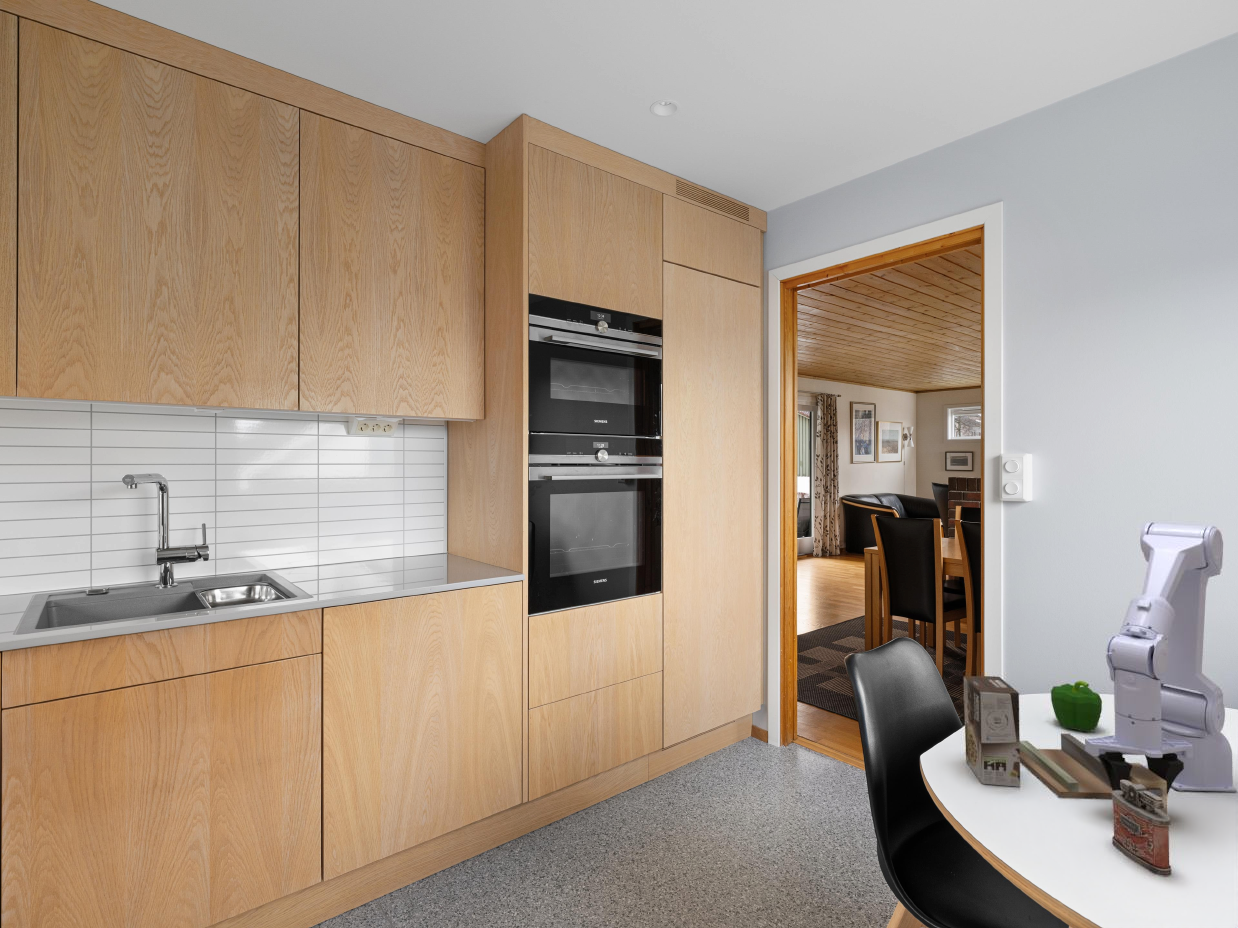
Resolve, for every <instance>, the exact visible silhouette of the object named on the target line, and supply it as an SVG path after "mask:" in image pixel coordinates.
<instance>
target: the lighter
mask: <svg viewBox="0 0 1238 928" xmlns="http://www.w3.org/2000/svg"><path fill="white" fill-rule="evenodd" d="M1120 787H1121V791H1120V790H1115V791H1112V799H1111V800H1112V807H1113V836H1112V838H1111V841H1112V842H1111V843H1112V845H1113V847H1115V848H1116V849H1117V850H1118V851H1119V852H1120V853H1122V855H1124V856H1126V857H1127V859H1129V860H1131V861H1132V862H1134V863H1135V864H1137V865H1138V866H1140V867H1141V868H1143V869H1145V870H1147V871H1149V872H1150V873H1152V874H1154V875H1156V876H1157V875H1158V876H1160V877H1161V876H1162V877H1170V876H1172V865H1171V864H1170V834H1169V833H1170V831H1169V829H1170V826H1171V817H1170V816H1169V815H1168V814H1167V815H1166V814H1165V813H1164V812H1162V811H1161V810H1160V809H1164V801H1163V800H1162V799H1161V798H1159V797H1158V796H1156V795H1154V794H1152V793H1151V792H1149V791H1147V790H1146V788H1145V787H1144V786H1143V785H1141V784H1137V785H1135V784H1133V783H1131V782H1130V781H1128V780H1120Z"/></svg>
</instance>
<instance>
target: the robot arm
mask: <svg viewBox="0 0 1238 928" xmlns="http://www.w3.org/2000/svg"><path fill="white" fill-rule="evenodd" d="M1140 531H1141V532H1140V540H1139V541H1140V550H1141V551H1142V553H1143V556H1144V560H1145V561H1146V562H1147V563H1148V564H1147V567H1146V572H1145V578H1144V582H1143V587H1142V591H1141V592H1142V593H1141V595H1138V596H1136V597H1133V598H1132V599H1131V600H1130V602H1129V605H1128V608H1127V609H1126V613H1125V616H1124V619H1123V621H1122V625H1121V627H1120V630H1119V633H1118V634H1117V636H1115V635H1113V636H1110V638H1109V639H1108V642H1107V646H1106V652H1105V653H1106V654H1105V657H1106V658H1105V659H1106V663H1107V666H1108V668H1109V669H1108V670H1109V678H1110V680H1111V681H1112V682H1113V689H1114V690H1113V696H1114V697H1113V698H1114V699H1113V701H1114V702H1113V703H1114V734H1112V735H1106V736H1101V737H1092V738H1084V744H1085V751H1087V752H1088V753H1089V754H1091V755H1092V756H1098V758H1099V759H1100V761H1101V763H1102V765H1103V767H1104V769H1105V771H1106V773H1107V775H1108V778H1109V781H1110V784H1111V787H1112V791H1115V790H1120V791H1121V787H1120V780H1129V775H1130V772H1131V769H1132V767H1133V766H1132V765H1131V764H1129V763H1130V762H1128V761H1126V758H1125V757H1124V756H1123V755H1127V756H1133V755H1134V756H1145V759H1146V765H1143V766H1144V767H1146V768H1147V769H1149V770H1150V771H1152V772H1153V773H1155V774H1156V775H1157V776H1159V777H1160V778H1162V779H1163V780H1165V781H1166V782H1167V796H1168V795H1169V792H1170V789H1171V788H1172V789H1174V790H1176V791H1191V792H1192V791H1193V792H1194V791H1196V792H1197V791H1199V792H1200V791H1201V792H1202V791H1203V792H1205V791H1206V792H1237V790H1238V788H1237V787H1235V786H1233V785H1234V783H1233V782H1234V781H1233V780H1234V779H1233V777H1234V775H1233V774H1234V773H1233V750H1232V747H1231V744H1230V742H1229V740H1228V738H1227V737H1226V736H1225V735H1224V733H1222V730H1223V728H1224V725H1225V720H1226V718H1225V717H1226V709H1225V708H1226V707H1225V705H1224V704H1225V703H1224V693H1223V690H1222V689H1221V688H1220V686H1218V685H1217V684H1216V683H1215V682H1214V681H1212V680H1211V679H1210V678H1209V677H1207V676H1206V675H1205V674H1204V673H1203V657H1204V655H1203V653H1204V638H1205V637H1204V636H1205V635H1204V634H1205V633H1204V632H1205V615H1206V614H1205V613H1206V598H1207V597H1206V596H1207V586H1208V582H1209V578H1211V577H1215V576H1219V575H1221V574H1222V573H1221V572H1222V571H1221V570H1222V568H1223V559H1224V558H1223V556H1224V540H1223V535H1222V533H1221V532H1222V531H1220V529H1218V527H1216V526H1215V525H1208V526H1207V525H1194V524H1193V525H1191V524H1190V525H1187V524H1174V523H1173V524H1172V523H1157V522H1156V523H1155V522H1153V521H1152V522H1151V521H1150V522H1149V521H1148V522H1147V523H1145V525H1144V526H1143V527H1142V529H1141V530H1140ZM1167 685H1168V686H1167ZM1171 686H1173V687H1171ZM1176 687H1177V688H1176ZM1181 688H1182V689H1181ZM1185 689H1186V690H1185ZM1194 691H1196V692H1194Z"/></svg>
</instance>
